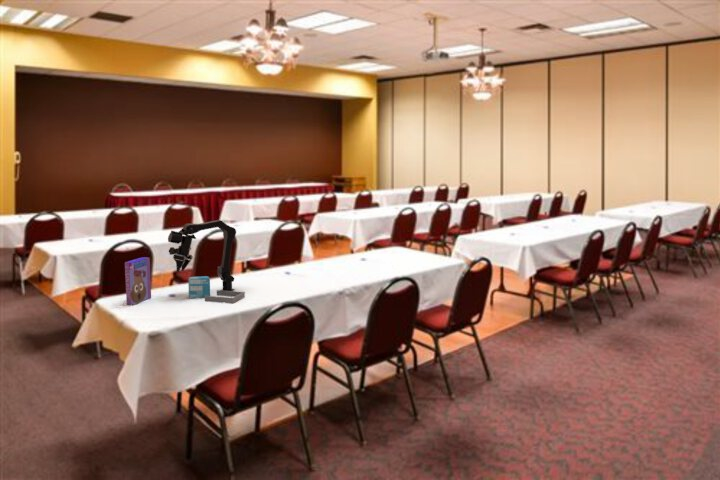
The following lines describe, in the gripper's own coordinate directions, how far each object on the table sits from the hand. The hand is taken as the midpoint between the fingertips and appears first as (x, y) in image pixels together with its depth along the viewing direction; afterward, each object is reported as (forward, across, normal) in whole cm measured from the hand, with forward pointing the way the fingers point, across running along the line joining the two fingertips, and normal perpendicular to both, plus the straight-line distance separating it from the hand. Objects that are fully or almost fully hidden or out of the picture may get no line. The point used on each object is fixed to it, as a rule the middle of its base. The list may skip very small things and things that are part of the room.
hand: (180, 271), depth 354 cm
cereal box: (+21, +9, -16) cm, 28 cm away
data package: (+13, -2, +14) cm, 19 cm away
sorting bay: (+10, +2, +29) cm, 31 cm away
